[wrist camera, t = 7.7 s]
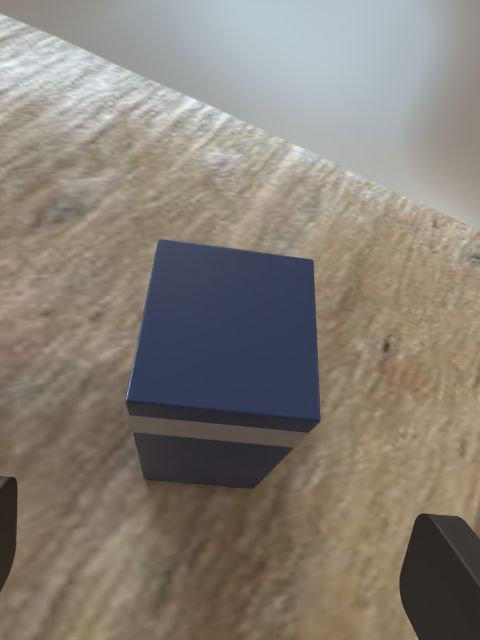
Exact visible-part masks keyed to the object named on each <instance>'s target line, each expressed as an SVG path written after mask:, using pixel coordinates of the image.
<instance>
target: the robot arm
mask: <svg viewBox="0 0 480 640" xmlns="http://www.w3.org/2000/svg"><path fill="white" fill-rule="evenodd" d="M17 490H18V489H17V481H16V479H15V478H14V477H4V476H0V591H1V590H2V588H3V586H4V584H5V582H6V580H7V578H8V575H9V573H10V570H11V567H12V564H13V560H14V556H15V550H16V531H17ZM399 585H400V595H401V600H402V604H403V607H404V609H405V612H406V614H407V616H408V618H409V620H410V622H411V624H412V626H413V628H414V630H415V632H416V635H417V637H418V639H419V640H480V539H479V538H478V537H477V535H476V534H475V533H474V532H473V530H472V529H471V528H470V527H469V525H468V524H467V523H466V522H465V521H464V520H463V519H462V518H460V517H458V516H448V515H436V514H424V513H423V514H420V515H419V516H418V517H417V518H416V520H415V523H414V526H413V530H412V534H411V537H410V541H409V544H408V548H407V552H406V555H405V559H404V562H403V566H402V569H401V573H400V583H399Z"/></svg>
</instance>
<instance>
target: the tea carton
mask: <svg viewBox="0 0 480 640" xmlns="http://www.w3.org/2000/svg"><path fill="white" fill-rule="evenodd" d="M126 404H127V408H128V418H129V422H130V426H131V430H132V432H133V433H134V438H135V442H136V446H137V450H138V454H139V458H140V463H141V467H142V471H143V475H144V479H148V480H160V481H171V482H183V483H195V484H207V485H218V486H230V487H242V488H255V487H256V486H257V485H258V484H259V483H260V482H261V481H262V480H263V479H264V478H265V477H266V476H267V475H268V474H269V473H270V472H271V471H272V470H273V469H274V468H275V467H276V466H277V465H278V464H279V462H280V461H281V460H282V459H283V458H284V457H285V456H286V455H287V454H288V453H289V452H290V451H291V450H292V449H293V448H295V447H297V446H298V445H299V444H300V443H301V442H302V441H303V440H304V439H305V438H306V437H307V436H308V435H309V434H310V432H311V430H312V429H313V428H314V427H315V426H316V425H317V424H318V423H319V422H320V420H321V416H320V394H319V372H318V350H317V328H316V306H315V284H314V262H313V260H312V259H304V258H297V257H290V256H283V255H276V254H269V253H261V252H254V251H247V250H240V249H233V248H226V247H218V246H211V245H204V244H197V243H190V242H183V241H175V240H168V239H159V240H158V244H157V249H156V254H155V259H154V264H153V269H152V273H151V278H150V283H149V288H148V293H147V298H146V303H145V307H144V312H143V317H142V322H141V327H140V332H139V337H138V341H137V346H136V351H135V356H134V361H133V366H132V371H131V375H130V380H129V385H128V390H127V395H126Z"/></svg>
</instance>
